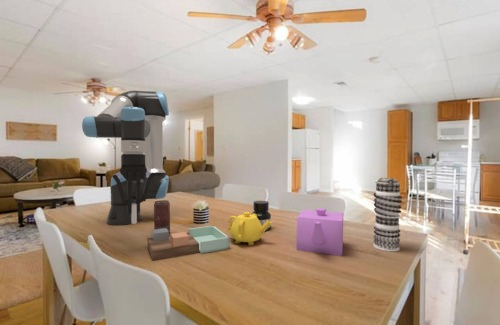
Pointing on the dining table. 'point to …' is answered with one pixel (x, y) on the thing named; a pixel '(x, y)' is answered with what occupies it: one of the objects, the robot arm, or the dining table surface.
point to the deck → (171, 248)
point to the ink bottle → (262, 212)
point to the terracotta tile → (179, 239)
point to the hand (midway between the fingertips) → (134, 222)
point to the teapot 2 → (320, 231)
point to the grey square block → (160, 234)
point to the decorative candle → (387, 214)
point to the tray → (210, 239)
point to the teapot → (247, 228)
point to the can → (162, 215)
